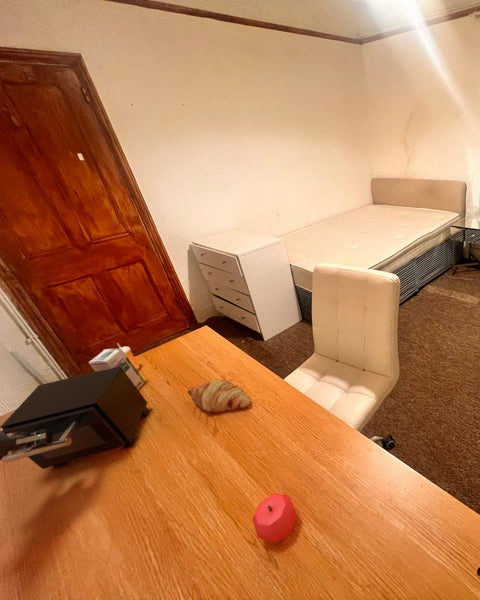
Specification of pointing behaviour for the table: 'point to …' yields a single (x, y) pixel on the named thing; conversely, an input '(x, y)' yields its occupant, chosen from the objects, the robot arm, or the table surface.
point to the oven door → (68, 437)
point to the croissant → (219, 396)
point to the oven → (87, 401)
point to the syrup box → (117, 364)
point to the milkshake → (129, 355)
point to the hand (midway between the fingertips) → (48, 438)
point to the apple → (274, 518)
